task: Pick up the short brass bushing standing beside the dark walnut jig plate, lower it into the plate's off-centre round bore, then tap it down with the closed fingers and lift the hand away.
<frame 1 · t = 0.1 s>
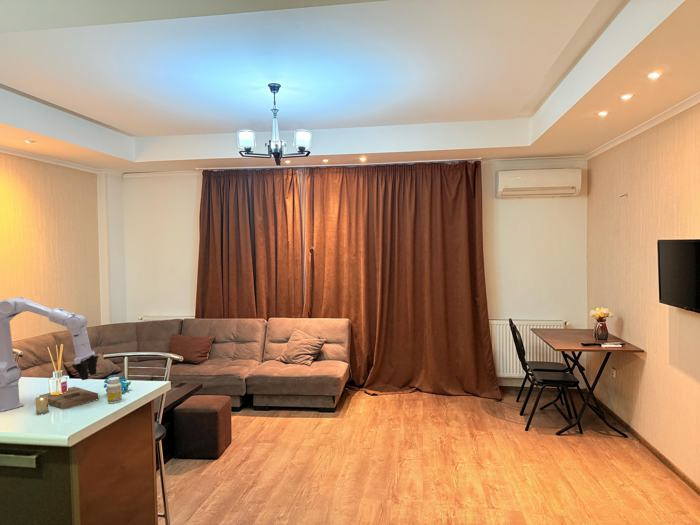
hand: (89, 377, 195), 11 cm above the table, tool pointing down, fingers open, 7 cm apart
supplement bottle: (114, 402, 195), on the table
jig plate: (69, 400, 199), on the table
gear: (118, 393, 207), on the table
bushing: (42, 413, 184), on the table
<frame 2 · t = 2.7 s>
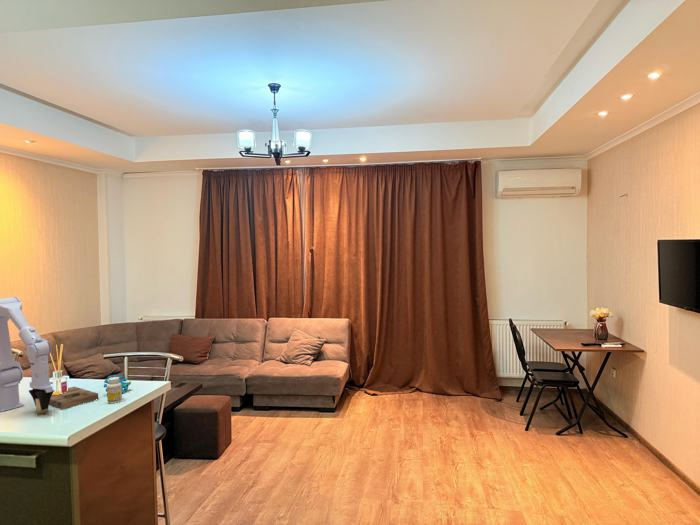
hand: (42, 408, 184), 2 cm above the table, tool pointing down, fingers closed on bushing, 4 cm apart
bushing: (42, 413, 184), on the table, touching gripper
everything else where it was.
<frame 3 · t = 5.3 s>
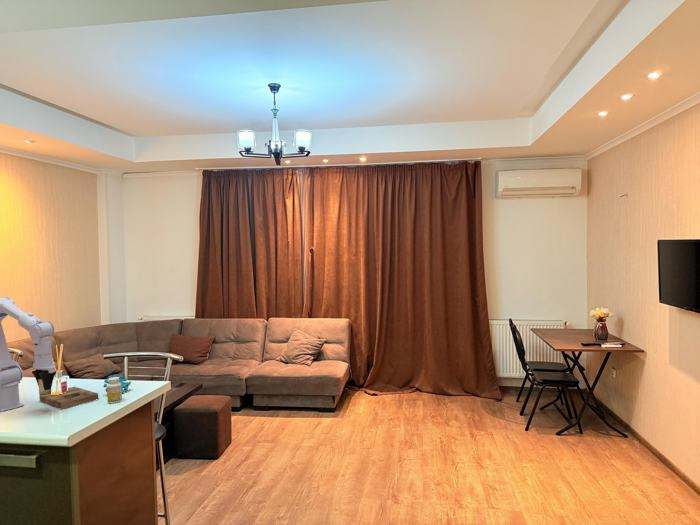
hand: (45, 388, 185), 9 cm above the table, tool pointing down, fingers closed on bushing, 4 cm apart
bushing: (45, 393, 186), point 7 cm above the table, touching gripper
everything else where it was.
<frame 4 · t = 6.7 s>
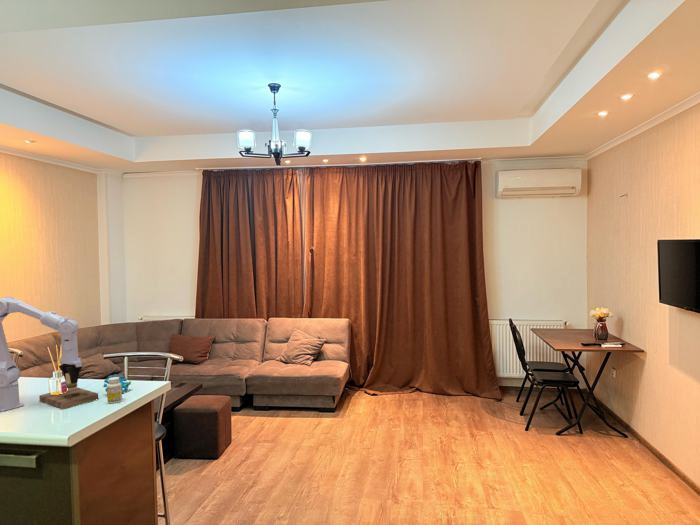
hand: (71, 382, 197), 8 cm above the table, tool pointing down, fingers closed on bushing, 4 cm apart
bushing: (71, 386, 197), point 6 cm above the table, touching gripper
everything else where it was.
when the fingers open (3 cm above the table, at t = 8.1 s): bushing drops 1 cm, resting in jig plate.
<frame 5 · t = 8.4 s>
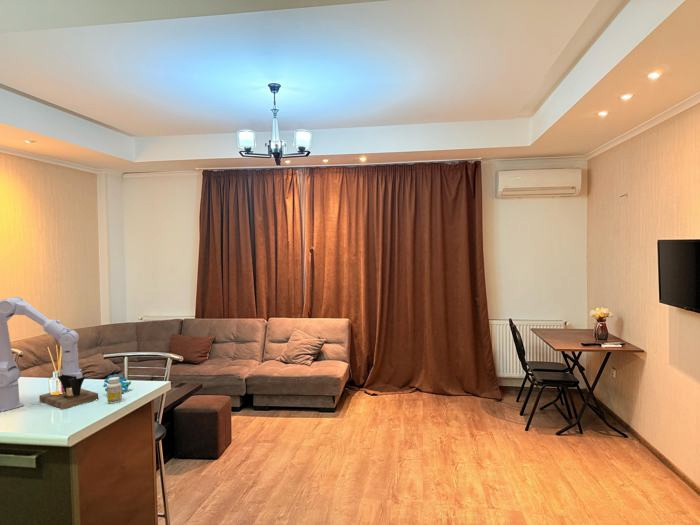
hand: (72, 393, 197), 3 cm above the table, tool pointing down, fingers open, 7 cm apart
bushing: (72, 401, 197), resting in jig plate
everything else where it was.
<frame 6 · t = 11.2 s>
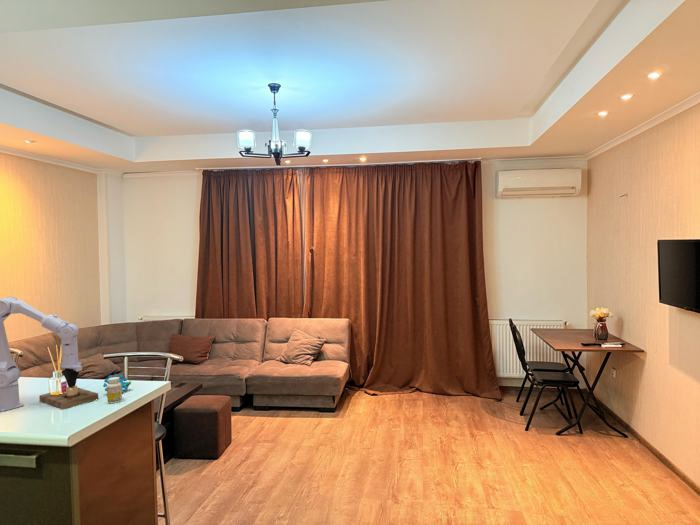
hand: (71, 386, 197), 6 cm above the table, tool pointing down, fingers closed
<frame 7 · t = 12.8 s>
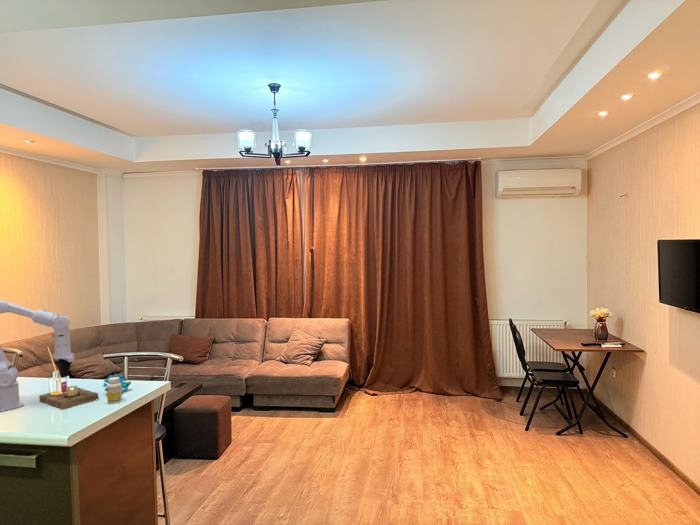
hand: (64, 377, 200), 9 cm above the table, tool pointing down, fingers closed
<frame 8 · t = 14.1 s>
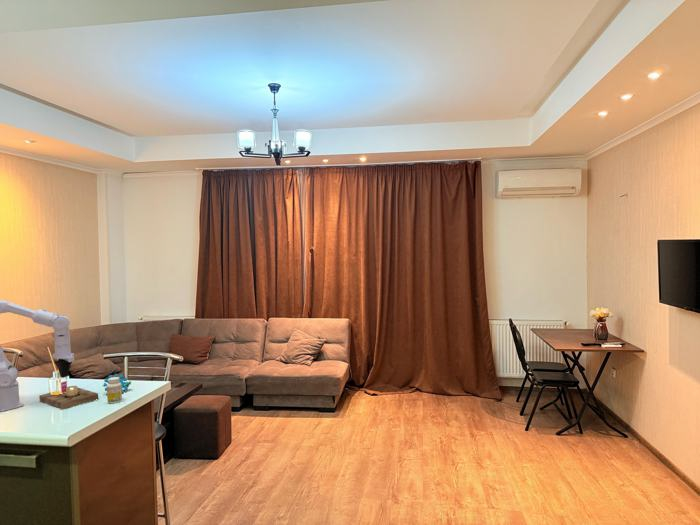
hand: (64, 377, 200), 9 cm above the table, tool pointing down, fingers closed
at the end: bushing 0.0 cm from the target spot on the jig plate, point 0.0 cm above the jig plate's base; bushing tilted 1°; the gripper is holding nothing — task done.
